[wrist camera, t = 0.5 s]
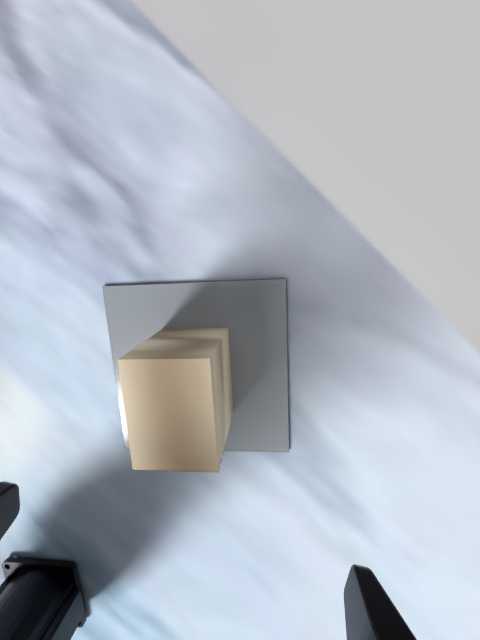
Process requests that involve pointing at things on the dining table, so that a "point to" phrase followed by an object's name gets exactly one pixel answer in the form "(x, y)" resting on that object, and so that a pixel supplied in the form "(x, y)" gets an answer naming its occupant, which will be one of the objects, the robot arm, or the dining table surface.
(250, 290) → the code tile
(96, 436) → the dining table surface
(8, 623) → the robot arm
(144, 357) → the maple block
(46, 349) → the dining table surface
